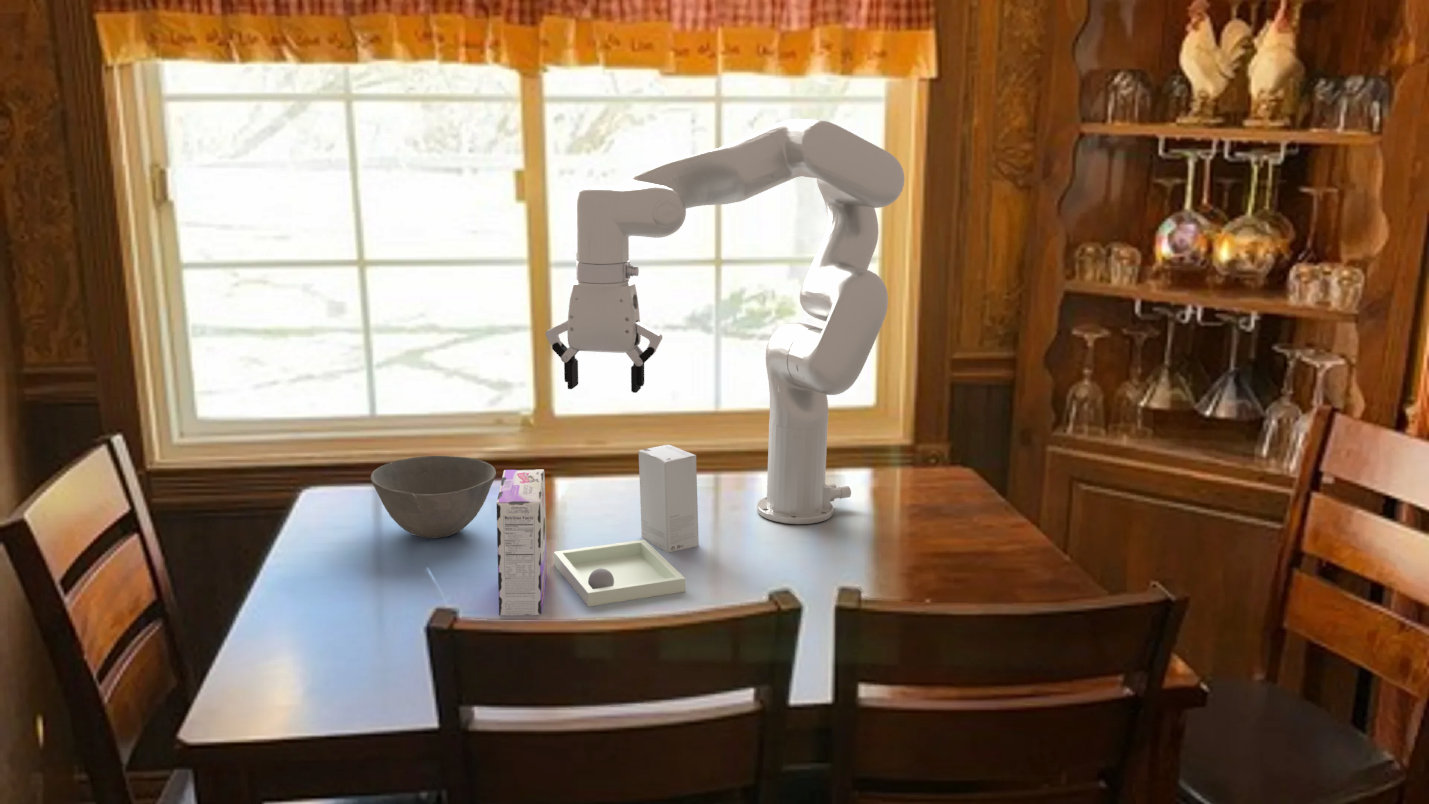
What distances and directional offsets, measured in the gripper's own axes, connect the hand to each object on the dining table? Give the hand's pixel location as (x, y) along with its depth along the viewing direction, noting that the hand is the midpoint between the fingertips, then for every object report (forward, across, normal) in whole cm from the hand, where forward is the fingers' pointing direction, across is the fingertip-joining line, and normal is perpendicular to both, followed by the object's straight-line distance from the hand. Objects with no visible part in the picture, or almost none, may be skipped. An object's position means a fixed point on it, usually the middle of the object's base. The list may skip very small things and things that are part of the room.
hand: (604, 388), depth 181 cm
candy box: (+25, +6, +22) cm, 33 cm away
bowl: (+25, +27, +1) cm, 37 cm away
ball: (+24, -4, +19) cm, 31 cm away
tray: (+25, -5, +13) cm, 28 cm away
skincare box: (+25, -9, -3) cm, 27 cm away
